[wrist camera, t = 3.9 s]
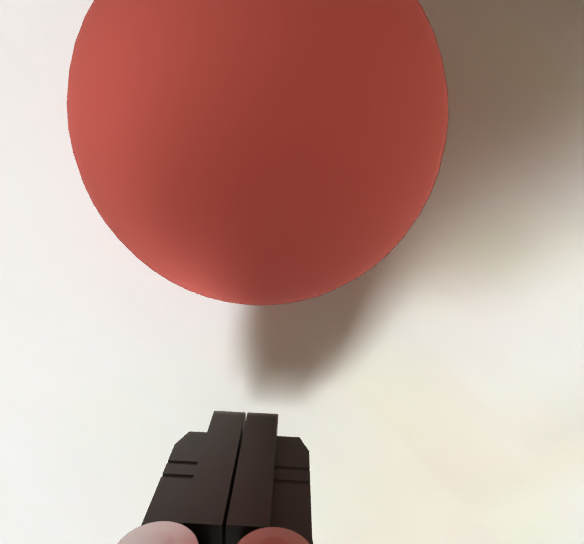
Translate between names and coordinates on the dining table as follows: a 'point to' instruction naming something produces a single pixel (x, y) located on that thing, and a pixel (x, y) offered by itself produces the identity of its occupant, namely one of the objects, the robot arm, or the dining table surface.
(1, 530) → the dining table surface
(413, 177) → the ball
